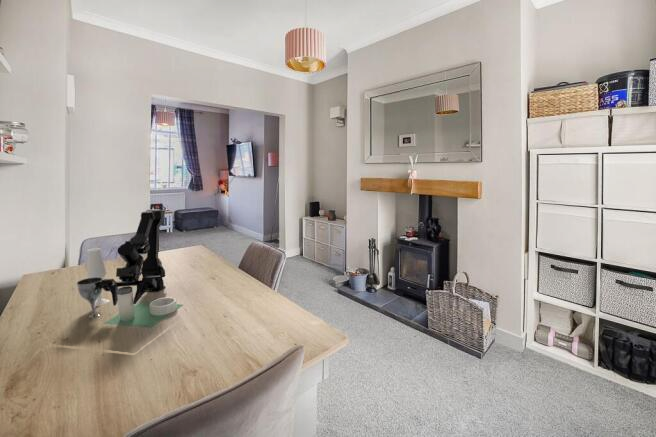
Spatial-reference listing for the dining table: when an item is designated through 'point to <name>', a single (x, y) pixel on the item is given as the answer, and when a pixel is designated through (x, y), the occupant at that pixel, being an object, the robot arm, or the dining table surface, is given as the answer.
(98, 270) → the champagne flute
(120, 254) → the robot arm
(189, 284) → the dining table surface
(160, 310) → the putting green
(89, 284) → the wine glass
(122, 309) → the golf ball tube
